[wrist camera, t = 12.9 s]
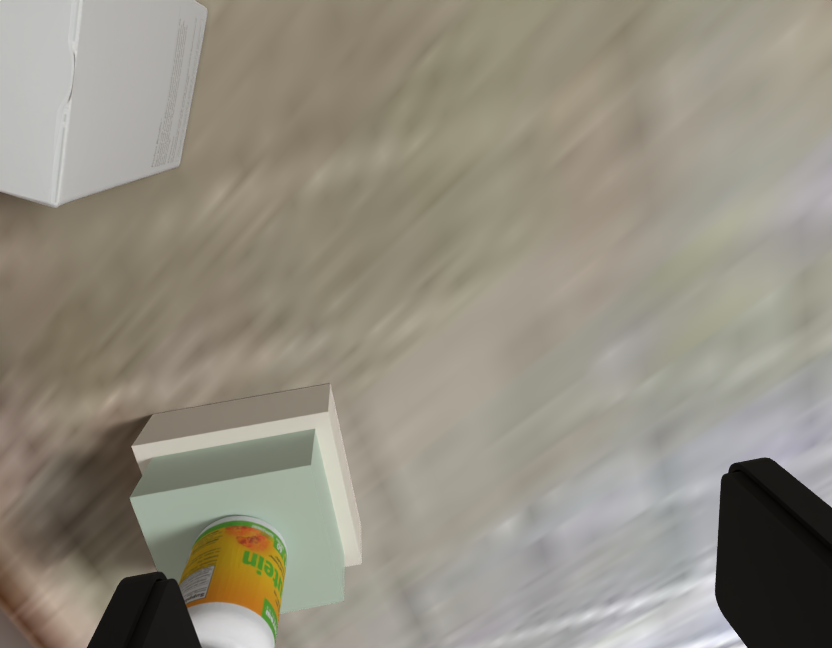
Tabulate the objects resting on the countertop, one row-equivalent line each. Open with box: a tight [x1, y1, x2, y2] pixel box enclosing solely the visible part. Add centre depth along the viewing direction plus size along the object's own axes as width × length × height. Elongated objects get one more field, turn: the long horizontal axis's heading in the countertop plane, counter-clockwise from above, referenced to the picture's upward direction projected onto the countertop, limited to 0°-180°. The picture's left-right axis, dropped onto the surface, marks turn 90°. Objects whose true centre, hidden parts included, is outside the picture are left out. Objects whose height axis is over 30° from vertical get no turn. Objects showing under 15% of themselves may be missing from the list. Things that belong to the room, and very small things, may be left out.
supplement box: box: [0, 0, 207, 208], centre depth 24 cm, size 9×9×15 cm
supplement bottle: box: [178, 516, 287, 648], centre depth 29 cm, size 5×5×10 cm
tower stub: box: [130, 384, 362, 614], centre depth 37 cm, size 12×12×8 cm
